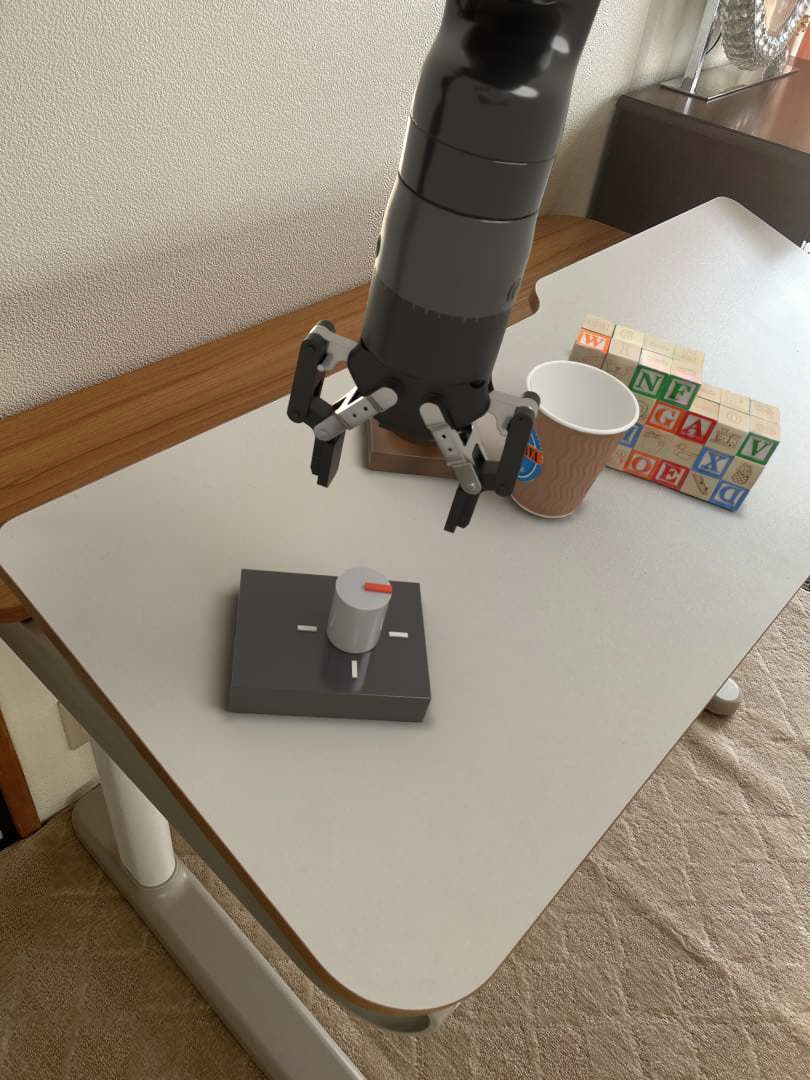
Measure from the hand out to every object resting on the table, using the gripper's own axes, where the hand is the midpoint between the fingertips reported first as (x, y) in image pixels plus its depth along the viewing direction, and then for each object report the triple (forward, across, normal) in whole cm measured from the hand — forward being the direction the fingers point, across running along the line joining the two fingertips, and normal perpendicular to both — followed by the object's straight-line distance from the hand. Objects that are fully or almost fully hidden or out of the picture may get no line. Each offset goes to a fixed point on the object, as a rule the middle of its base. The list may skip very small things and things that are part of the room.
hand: (388, 501), depth 57 cm
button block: (+16, +3, -28) cm, 32 cm away
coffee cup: (+16, -11, -26) cm, 33 cm away
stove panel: (+16, +2, +1) cm, 16 cm away
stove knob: (+13, 0, 0) cm, 13 cm away
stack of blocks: (+16, -19, -37) cm, 45 cm away
